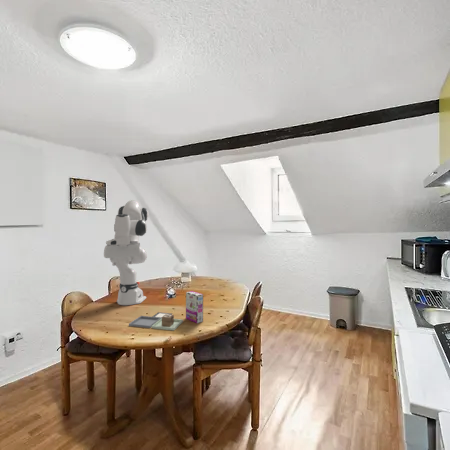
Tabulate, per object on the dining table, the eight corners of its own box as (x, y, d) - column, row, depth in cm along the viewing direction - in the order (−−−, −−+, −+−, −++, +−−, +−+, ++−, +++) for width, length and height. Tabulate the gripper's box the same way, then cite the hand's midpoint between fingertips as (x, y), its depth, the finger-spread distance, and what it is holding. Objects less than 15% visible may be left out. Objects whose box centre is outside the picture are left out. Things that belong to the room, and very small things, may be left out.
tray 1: (141, 318, 167) (141, 315, 167) (161, 320, 164) (161, 317, 164) (128, 326, 155) (128, 323, 154) (150, 328, 151) (150, 325, 151)
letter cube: (165, 322, 159) (165, 313, 159) (173, 323, 158) (173, 314, 158) (161, 326, 154) (161, 316, 154) (170, 326, 153) (170, 317, 153)
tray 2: (162, 320, 164) (162, 317, 164) (183, 322, 161) (183, 319, 161) (151, 328, 151) (151, 325, 151) (173, 331, 148) (173, 328, 148)
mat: (158, 312, 177) (158, 312, 177) (172, 314, 175) (172, 313, 175) (150, 318, 167) (150, 317, 167) (165, 319, 165) (165, 318, 165)
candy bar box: (203, 321, 162) (203, 294, 162) (197, 324, 158) (197, 295, 158) (192, 317, 170) (192, 290, 170) (185, 319, 166) (185, 292, 166)
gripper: (138, 240, 172) (138, 262, 172) (103, 241, 159) (102, 265, 159) (141, 241, 167) (141, 264, 166) (105, 242, 154) (105, 266, 154)
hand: (122, 264), depth 163 cm, fingers open, 8 cm apart
